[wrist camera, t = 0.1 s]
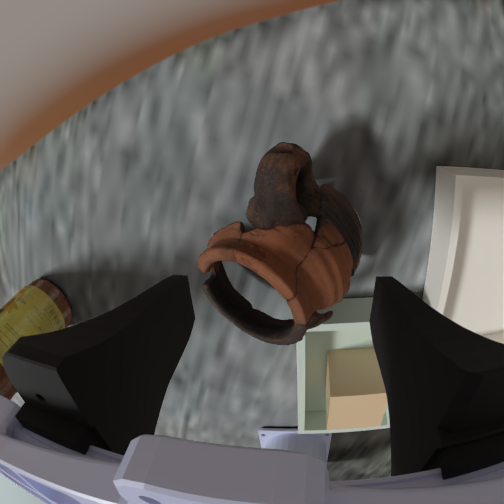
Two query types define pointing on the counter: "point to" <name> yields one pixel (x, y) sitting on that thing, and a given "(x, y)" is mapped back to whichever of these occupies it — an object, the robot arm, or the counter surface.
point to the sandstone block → (354, 389)
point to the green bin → (315, 361)
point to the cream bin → (468, 249)
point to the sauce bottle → (30, 320)
